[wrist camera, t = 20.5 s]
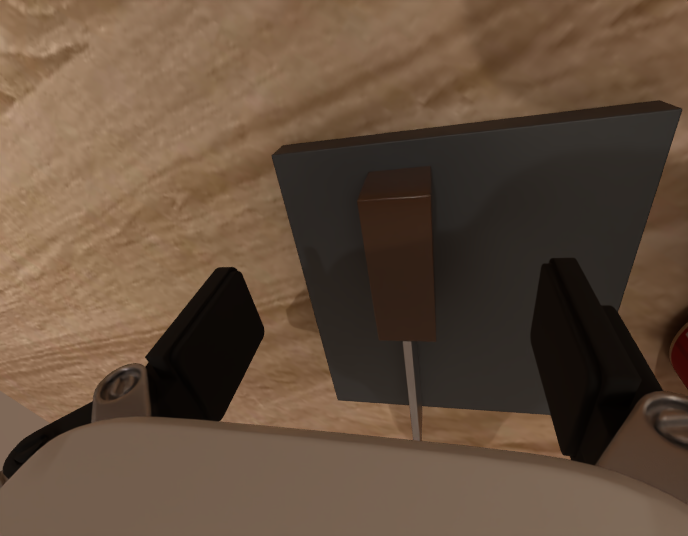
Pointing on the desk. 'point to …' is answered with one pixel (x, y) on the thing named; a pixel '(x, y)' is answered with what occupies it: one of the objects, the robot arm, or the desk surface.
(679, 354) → the soda can
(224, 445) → the robot arm
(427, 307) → the knife
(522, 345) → the board
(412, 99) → the desk surface
